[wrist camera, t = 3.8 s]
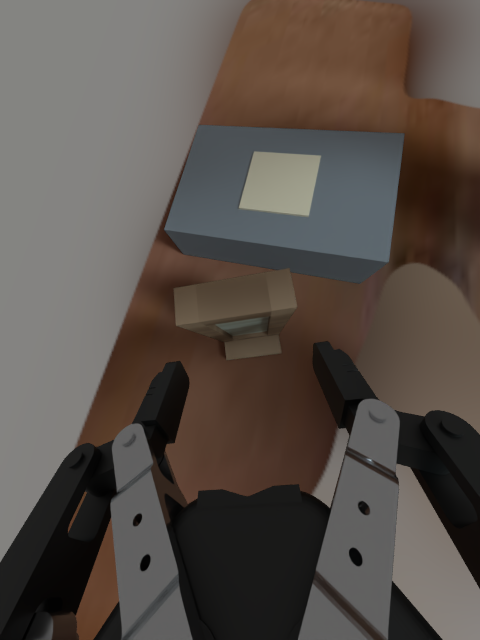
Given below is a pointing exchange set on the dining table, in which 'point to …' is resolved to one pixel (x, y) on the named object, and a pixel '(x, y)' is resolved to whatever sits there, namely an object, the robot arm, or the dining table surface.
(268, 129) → the display step
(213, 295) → the walnut frame
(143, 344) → the dining table surface
